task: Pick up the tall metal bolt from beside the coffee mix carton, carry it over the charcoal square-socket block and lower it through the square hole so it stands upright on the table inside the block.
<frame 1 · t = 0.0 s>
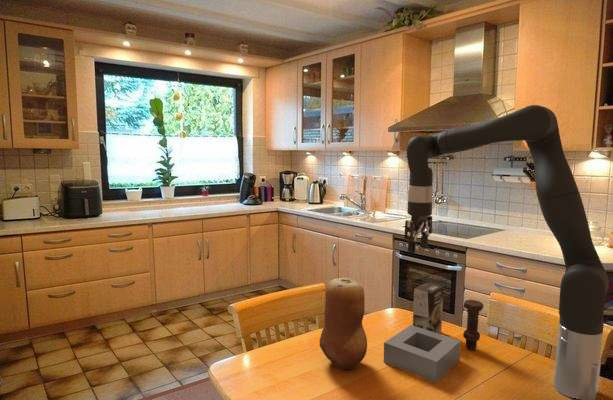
hand: (417, 250, 132), 29 cm above the table, tool pointing down, fingers open, 8 cm apart
socket block: (421, 360, 121), on the table
coffee box: (426, 333, 139), on the table
butternut squash: (342, 364, 119), on the table
bolt: (470, 349, 128), on the table
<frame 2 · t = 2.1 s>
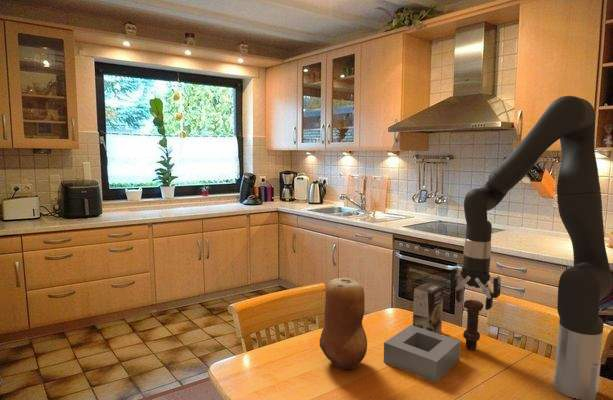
hand: (473, 305, 126), 14 cm above the table, tool pointing down, fingers open, 8 cm apart
nothing on the table moved.
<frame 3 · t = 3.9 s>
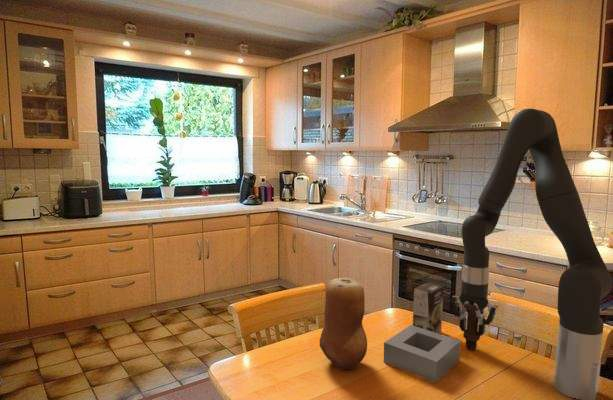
hand: (471, 332, 127), 5 cm above the table, tool pointing down, fingers closed on bolt, 4 cm apart
bolt: (470, 349, 128), on the table, touching gripper
everything else where it was.
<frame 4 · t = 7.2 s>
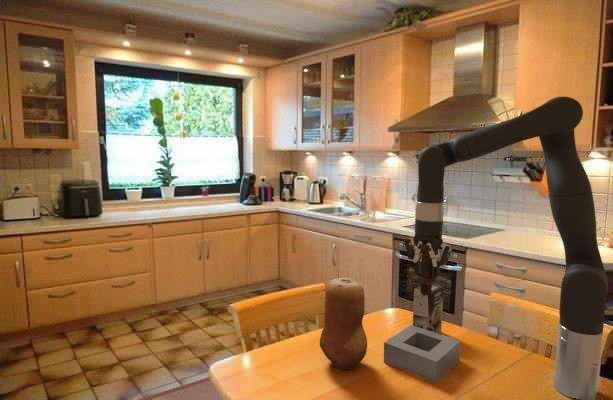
hand: (426, 276, 118), 26 cm above the table, tool pointing down, fingers closed on bolt, 4 cm apart
bolt: (425, 295, 118), point 20 cm above the table, touching gripper
everything else where it was.
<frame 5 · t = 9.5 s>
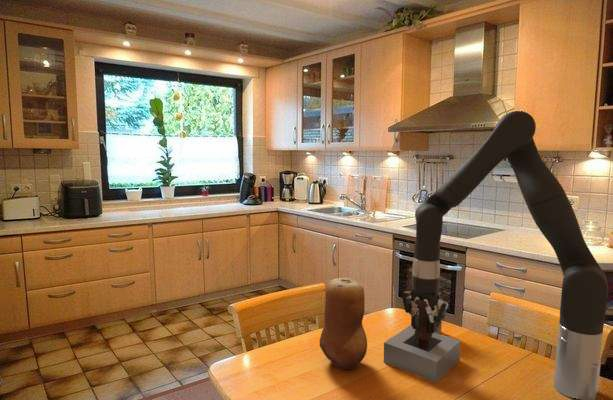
hand: (423, 330, 120), 9 cm above the table, tool pointing down, fingers closed on bolt, 4 cm apart
bolt: (422, 348, 120), point 4 cm above the table, touching gripper
everything else where it was.
when the fingers open (7 cm above the table, at t = 10.8 s): bolt drops 2 cm, resting in socket block.
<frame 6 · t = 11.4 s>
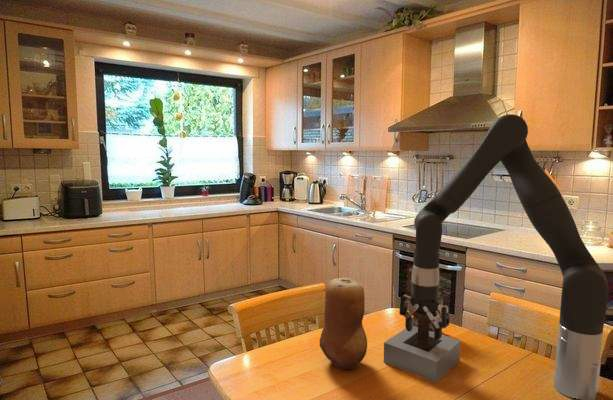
hand: (422, 334, 120), 8 cm above the table, tool pointing down, fingers open, 8 cm apart
bolt: (422, 361, 121), resting in socket block
everything else where it was.
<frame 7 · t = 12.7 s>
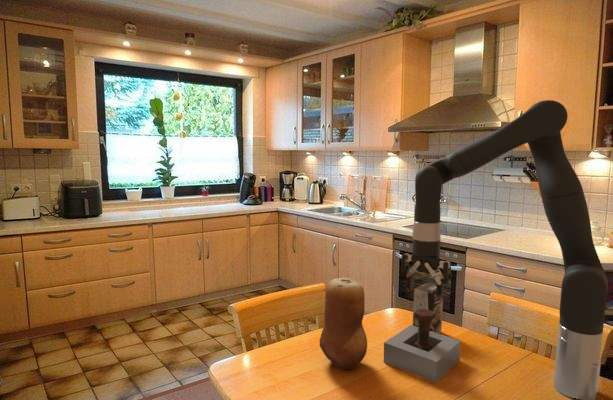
hand: (424, 292, 118), 21 cm above the table, tool pointing down, fingers open, 8 cm apart
nothing on the table moved.
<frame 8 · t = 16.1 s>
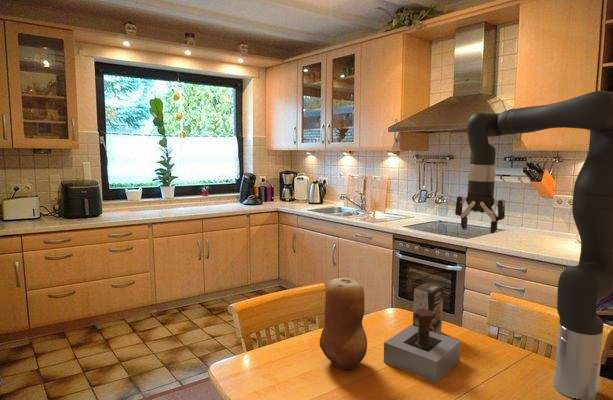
hand: (478, 231, 129), 36 cm above the table, tool pointing down, fingers open, 8 cm apart
nothing on the table moved.
at the end: bolt 0.3 cm off-centre on the socket block, point 0.0 cm above the socket block's base; bolt tilted 0°; the gripper is holding nothing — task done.
